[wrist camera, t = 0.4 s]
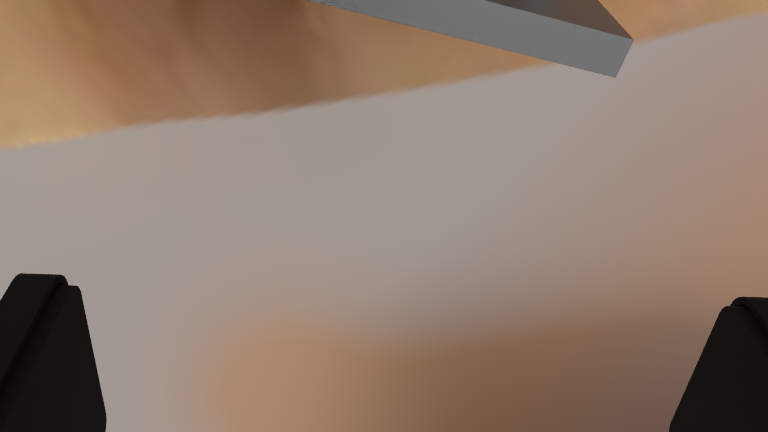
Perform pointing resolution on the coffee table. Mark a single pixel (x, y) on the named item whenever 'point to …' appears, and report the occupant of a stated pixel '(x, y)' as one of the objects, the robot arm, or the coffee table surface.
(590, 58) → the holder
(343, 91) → the coffee table surface
